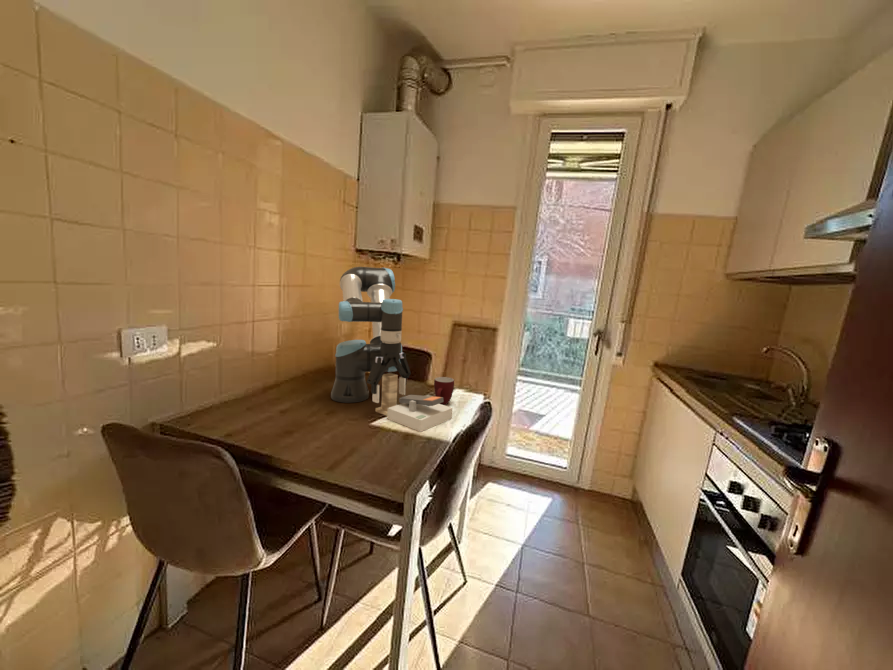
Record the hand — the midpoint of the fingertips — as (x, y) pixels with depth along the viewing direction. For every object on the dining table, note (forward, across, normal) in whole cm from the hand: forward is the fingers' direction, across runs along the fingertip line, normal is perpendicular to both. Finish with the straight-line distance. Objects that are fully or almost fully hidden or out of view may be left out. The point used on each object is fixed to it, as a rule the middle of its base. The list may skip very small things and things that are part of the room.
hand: (389, 398), depth 141 cm
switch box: (+5, +3, -13) cm, 14 cm away
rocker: (-2, +3, -13) cm, 13 cm away
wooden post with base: (+5, 0, 0) cm, 5 cm away
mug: (+5, +21, -9) cm, 23 cm away
